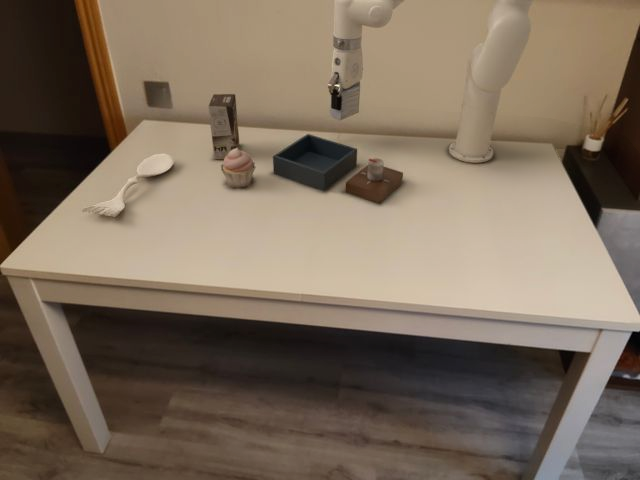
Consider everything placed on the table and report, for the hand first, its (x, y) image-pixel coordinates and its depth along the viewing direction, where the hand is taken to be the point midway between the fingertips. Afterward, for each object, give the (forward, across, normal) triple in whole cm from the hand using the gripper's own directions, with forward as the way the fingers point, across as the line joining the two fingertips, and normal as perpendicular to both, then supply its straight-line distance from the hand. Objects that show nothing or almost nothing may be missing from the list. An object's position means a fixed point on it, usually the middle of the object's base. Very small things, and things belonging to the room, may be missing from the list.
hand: (344, 103), depth 157 cm
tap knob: (+10, -17, -20) cm, 28 cm away
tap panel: (+13, -17, -20) cm, 29 cm away
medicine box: (+4, 0, 0) cm, 4 cm away
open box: (+13, -18, -2) cm, 22 cm away
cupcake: (+13, -35, +11) cm, 39 cm away
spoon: (+13, -53, +31) cm, 63 cm away
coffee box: (+13, -24, +25) cm, 37 cm away
